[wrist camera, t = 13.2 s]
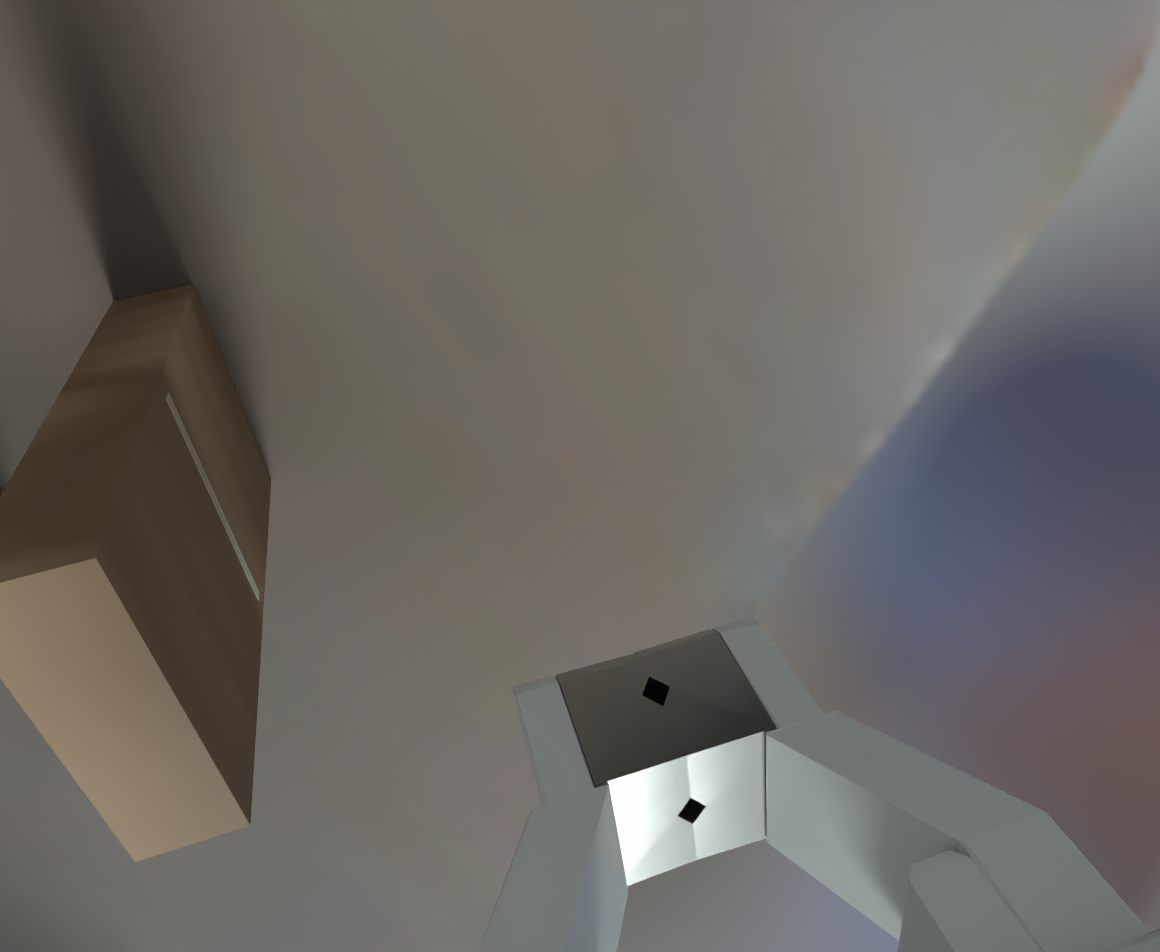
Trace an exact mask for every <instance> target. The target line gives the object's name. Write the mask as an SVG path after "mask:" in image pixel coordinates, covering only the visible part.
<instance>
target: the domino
mask: <svg viewBox="0 0 1160 952" xmlns="http://www.w3.org/2000/svg"><path fill="white" fill-rule="evenodd" d="M270 489H271V478H270V476H269V473H268V471H267V468H266V466H265V463H264V461H263V458H262V456H261V453H260V451H259V448H258V446H257V443H256V441H255V438H254V436H253V433H252V431H251V428H250V426H249V423H248V421H247V419H246V416H245V414H244V411H243V409H242V406H241V404H240V401H239V399H238V396H237V394H236V391H235V389H234V386H233V384H232V381H231V379H230V376H229V374H228V371H227V369H226V366H225V364H224V361H223V359H222V356H221V354H220V351H219V349H218V346H217V344H216V341H215V339H214V336H213V334H212V331H211V329H210V326H209V324H208V321H207V319H206V316H205V314H204V311H203V309H202V306H201V304H200V302H199V299H198V297H197V294H196V292H195V289H194V287H193V284H191V285H186V286H182V287H177V288H172V289H167V290H163V291H158V292H153V293H149V294H144V295H139V296H134V297H130V298H125V299H120V300H115V301H113V302H112V304H111V306H110V308H109V309H108V311H107V313H106V315H105V316H104V318H103V320H102V321H101V323H100V325H99V327H98V328H97V330H96V332H95V334H94V335H93V337H92V339H91V341H90V342H89V344H88V346H87V347H86V349H85V351H84V353H83V354H82V356H81V358H80V360H79V361H78V363H77V365H76V366H75V368H74V370H73V372H72V373H71V375H70V377H69V379H68V380H67V382H66V384H65V385H64V387H63V389H62V391H61V392H60V394H59V396H58V398H57V399H56V401H55V403H54V404H53V406H52V408H51V410H50V411H49V413H48V415H47V417H46V418H45V420H44V422H43V423H42V425H41V427H40V429H39V430H38V432H37V434H36V436H35V437H34V439H33V441H32V443H31V444H30V446H29V448H28V449H27V451H26V453H25V455H24V456H23V458H22V460H21V462H20V463H19V465H18V467H17V468H16V470H15V472H14V474H13V475H12V477H11V479H10V481H9V482H8V484H7V486H6V487H5V489H4V491H3V493H2V494H1V496H0V678H1V680H2V681H3V683H4V684H5V685H6V687H7V688H8V689H9V691H10V692H11V693H12V695H13V696H14V698H15V699H16V700H17V702H18V703H19V704H20V706H21V707H22V708H23V710H24V711H25V713H26V714H27V715H28V717H29V718H30V719H31V721H32V722H33V723H34V725H35V726H36V728H37V729H38V730H39V732H40V733H41V734H42V736H43V737H44V738H45V740H46V741H47V743H48V744H49V745H50V747H51V748H52V749H53V751H54V752H55V754H56V755H57V756H58V758H59V759H60V760H61V762H62V763H63V764H64V766H65V767H66V769H67V770H68V771H69V773H70V774H71V775H72V777H73V778H74V779H75V781H76V782H77V784H78V785H79V786H80V788H81V789H82V790H83V792H84V793H85V794H86V796H87V797H88V799H89V800H90V801H91V803H92V804H93V805H94V807H95V808H96V809H97V811H98V812H99V814H100V815H101V816H102V818H103V819H104V820H105V822H106V823H107V824H108V826H109V827H110V829H111V830H112V831H113V833H114V834H115V835H116V837H117V838H118V839H119V841H120V842H121V844H122V845H123V846H124V848H125V849H126V850H127V852H128V853H129V854H130V856H131V857H132V859H133V860H134V861H135V862H138V861H141V860H144V859H147V858H150V857H153V856H156V855H159V854H163V853H166V852H169V851H172V850H175V849H178V848H181V847H184V846H188V845H191V844H194V843H197V842H200V841H203V840H206V839H209V838H212V837H216V836H219V835H222V834H225V833H228V832H231V831H234V830H237V829H241V828H244V827H247V826H250V821H251V804H252V788H253V771H254V755H255V738H256V721H257V705H258V688H259V672H260V655H261V639H262V622H263V605H264V589H265V572H266V556H267V539H268V523H269V506H270Z"/></svg>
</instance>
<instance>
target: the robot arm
mask: <svg viewBox="0 0 1160 952" xmlns="http://www.w3.org/2000/svg"><path fill="white" fill-rule="evenodd" d="M513 689H514V696H515V701H516V705H517V709H518V713H519V717H520V721H521V725H522V729H523V733H524V737H525V741H526V745H527V749H528V753H529V757H530V761H531V765H532V769H533V773H534V777H535V781H536V785H537V789H538V793H539V797H540V800H541V804H542V805H540V806H537V807H535V808H532V809H531V811H530V814H529V816H528V819H527V822H526V825H525V827H524V830H523V833H522V835H521V838H520V841H519V843H518V846H517V849H516V852H515V854H514V857H513V860H512V862H511V865H510V868H509V871H508V873H507V876H506V879H505V881H504V884H503V887H502V890H501V892H500V895H499V898H498V900H497V903H496V906H495V908H494V911H493V914H492V917H491V919H490V922H489V925H488V927H487V930H486V933H485V936H484V938H483V941H482V944H481V946H480V949H479V952H616V950H617V945H618V940H619V935H620V930H621V925H622V920H623V915H624V910H625V905H626V899H627V894H628V888H627V886H628V885H631V884H634V883H636V882H639V881H642V880H644V879H647V878H649V877H652V876H655V875H658V874H660V873H663V872H665V871H668V870H671V869H673V868H676V867H679V866H682V865H684V864H687V863H689V862H692V861H695V860H698V859H701V858H704V857H708V856H711V855H714V854H717V853H720V852H723V851H727V850H730V849H733V848H736V847H739V846H743V845H746V844H749V843H752V842H755V841H759V840H762V839H765V838H767V842H768V843H769V844H770V845H772V846H773V847H774V848H776V849H777V850H778V851H780V852H781V853H782V854H784V855H785V856H786V857H788V858H789V859H790V860H792V861H793V862H794V863H796V864H797V865H798V866H800V867H801V868H802V869H804V870H805V871H806V872H808V873H809V874H810V875H812V876H813V877H814V878H816V879H817V880H818V881H820V882H821V883H822V884H824V885H825V886H826V887H828V888H829V889H830V890H832V891H833V892H834V893H836V894H837V895H838V896H840V897H841V898H842V899H844V900H845V901H846V902H848V903H849V904H851V905H852V906H853V907H855V908H856V909H857V910H859V911H860V912H861V913H863V914H864V915H865V916H867V917H868V918H869V919H871V920H872V921H873V922H875V923H876V924H877V925H879V926H880V927H881V928H883V929H884V930H885V931H887V932H888V933H889V934H891V935H892V936H893V937H895V938H896V939H897V940H899V946H898V951H897V952H1160V929H1157V930H1154V931H1152V932H1150V931H1149V930H1148V929H1147V928H1146V927H1145V925H1144V924H1143V923H1142V922H1141V921H1140V920H1139V919H1138V918H1137V916H1136V915H1135V914H1134V913H1133V912H1132V910H1131V909H1130V908H1129V907H1128V906H1127V905H1126V904H1125V902H1124V901H1123V900H1122V899H1121V898H1120V897H1119V896H1118V894H1117V893H1116V892H1115V891H1114V890H1113V889H1112V888H1111V886H1110V885H1109V884H1108V883H1107V882H1106V881H1105V879H1104V878H1103V877H1102V876H1101V875H1100V874H1099V873H1098V871H1097V870H1096V869H1095V868H1094V867H1093V866H1092V865H1091V863H1090V862H1089V861H1088V860H1087V859H1086V858H1085V857H1084V856H1083V854H1082V853H1081V852H1080V851H1079V850H1078V848H1076V846H1075V845H1074V844H1073V843H1072V842H1071V841H1070V839H1069V838H1068V837H1067V836H1066V835H1065V834H1064V832H1063V831H1062V830H1061V829H1060V828H1059V827H1058V826H1057V824H1056V823H1055V822H1054V821H1053V820H1052V819H1051V818H1050V816H1049V815H1048V814H1047V813H1046V812H1044V811H1042V810H1040V809H1038V808H1036V807H1034V806H1031V805H1029V804H1027V803H1025V802H1023V801H1021V800H1019V799H1017V798H1015V797H1013V796H1010V795H1009V794H1007V793H1005V792H1003V791H1001V790H998V789H996V788H994V787H992V786H990V785H988V784H986V783H984V782H982V781H980V780H978V779H976V778H974V777H972V776H970V775H968V774H966V773H963V772H961V771H959V770H957V769H955V768H953V767H951V766H949V765H947V764H945V763H943V762H941V761H939V760H937V759H935V758H932V757H931V756H928V755H926V754H924V753H922V752H920V751H918V750H916V749H914V748H912V747H910V746H908V745H906V744H904V743H902V742H900V741H898V740H895V739H893V738H891V737H889V736H887V735H885V734H883V733H881V732H879V731H877V730H875V729H873V728H870V727H869V726H867V725H865V724H862V723H860V722H858V721H856V720H854V719H852V718H850V717H848V716H846V715H844V714H842V713H840V712H838V711H832V712H829V713H825V714H823V712H822V711H821V709H820V708H819V706H818V705H817V704H816V702H815V701H814V699H813V698H812V697H811V695H810V694H809V693H808V691H807V689H806V688H805V686H804V685H803V684H802V682H801V681H800V679H799V678H798V676H797V675H796V673H795V672H794V671H793V669H792V668H791V666H790V665H789V663H788V662H787V661H786V659H785V658H784V656H783V655H782V653H781V652H780V651H779V649H778V648H777V646H776V645H775V643H774V642H773V640H772V639H771V637H770V636H769V635H768V633H767V632H766V630H765V629H764V627H763V626H762V625H761V623H760V622H759V621H758V620H757V619H755V618H753V617H748V618H745V619H742V620H739V621H735V622H732V623H729V624H726V625H722V626H719V627H716V628H713V629H712V630H710V629H709V630H706V631H702V632H699V633H696V634H693V635H689V636H686V637H683V638H680V639H677V640H673V641H670V642H667V643H664V644H660V645H657V646H654V647H651V648H648V649H644V650H641V651H638V652H635V653H634V654H631V655H627V656H623V657H620V658H616V659H612V660H609V661H605V662H601V663H597V664H594V665H590V666H586V667H583V668H579V669H575V670H572V671H568V672H564V673H561V674H557V675H556V678H555V677H554V676H553V677H549V678H545V679H542V680H538V681H534V682H531V683H527V684H523V685H520V686H516V687H513Z"/></svg>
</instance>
